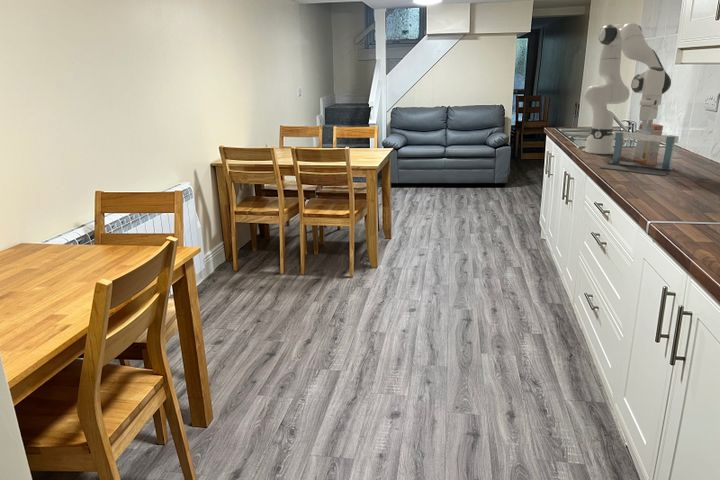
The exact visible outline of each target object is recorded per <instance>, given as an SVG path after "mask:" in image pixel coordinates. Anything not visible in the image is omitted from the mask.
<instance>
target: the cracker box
mask: <svg viewBox="0 0 720 480" xmlns="http://www.w3.org/2000/svg"><path fill="white" fill-rule="evenodd" d="M647 125H648V122H647ZM663 129H664V125H662V124H658V123H652V126H651V128H647V129H646V130H642V122H640V123H639V128H638V132H637V133H643V134H655V135H663ZM660 145H661V142H657V141H646V140H636V144H635V151H634V157H633V161H634V162H635V163H640V164H649V165H657V162H658V156H659V152H660V151H659V150H660Z"/></svg>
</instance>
